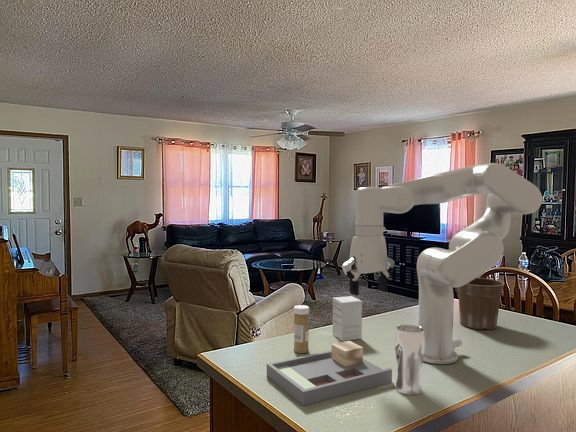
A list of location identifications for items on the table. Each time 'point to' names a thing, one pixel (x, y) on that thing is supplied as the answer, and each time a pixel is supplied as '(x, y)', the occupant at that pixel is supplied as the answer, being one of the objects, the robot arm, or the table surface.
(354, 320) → the supplement box
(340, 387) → the box
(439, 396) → the table surface
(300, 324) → the sprinkles bottle
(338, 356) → the maple block
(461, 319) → the plant pot
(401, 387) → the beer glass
